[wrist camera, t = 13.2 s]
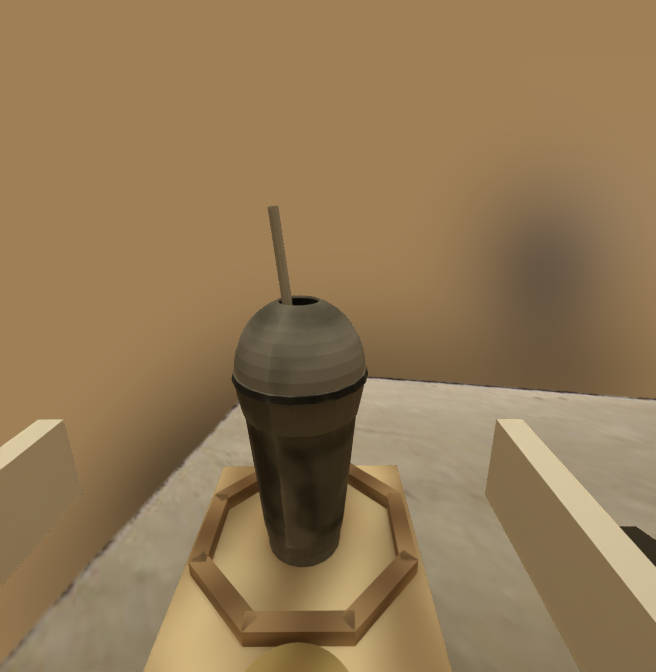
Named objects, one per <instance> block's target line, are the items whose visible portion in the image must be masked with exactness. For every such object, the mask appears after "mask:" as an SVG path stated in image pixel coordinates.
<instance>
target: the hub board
mask: <svg viewBox="0 0 656 672" xmlns="http://www.w3.org/2000/svg"><path fill="white" fill-rule="evenodd" d="M143 672H452V669H451V666H450V662H449V658H448V655H447V651H446V647H445V643H444V640H443V636H442V632H441V629H440V625H439V621H438V617H437V614H436V610H435V606H434V602H433V599H432V595H431V591H430V588H429V584H428V580H427V576H426V573H425V569H424V565H423V562H422V558H421V554H420V550H419V547H418V543H417V539H416V536H415V532H414V528H413V524H412V521H411V517H410V513H409V510H408V506H407V502H406V498H405V495H404V491H403V487H402V484H401V480H400V476H399V472H398V469H397V465H394V466H354V465H353V464H351V463H350V468H349V477H348V485H347V493H346V502H345V510H344V518H343V523H342V527H341V531H340V540H339V545H338V547H337V549H336V550H335V552H334V554H333V555H332V556H331V557H329V558H328V559H327V560H326V561H324V562H322V563H320V564H317V565H315V566H310V567H296V566H291V565H288V564H286V563H284V562H282V561H280V560H279V559H278V558H277V557H276V556H275V554H274V553H273V552H272V549H271V546H270V543H269V536H268V532H267V529H266V526H265V522H264V517H263V511H262V506H261V500H260V495H259V489H258V484H257V478H256V473H255V467H254V466H243V467H224V469H223V472H222V474H221V477H220V479H219V482H218V484H217V487H216V489H215V492H214V494H213V497H212V499H211V502H210V504H209V507H208V510H207V512H206V515H205V517H204V520H203V522H202V525H201V527H200V530H199V532H198V535H197V537H196V540H195V542H194V545H193V547H192V550H191V552H190V555H189V557H188V560H187V563H186V565H185V568H184V570H183V573H182V575H181V578H180V580H179V583H178V585H177V588H176V590H175V593H174V595H173V598H172V600H171V603H170V605H169V608H168V611H167V613H166V616H165V618H164V621H163V623H162V626H161V628H160V631H159V633H158V636H157V638H156V641H155V643H154V646H153V648H152V651H151V653H150V656H149V659H148V661H147V664H146V666H145V669H144V671H143Z"/></svg>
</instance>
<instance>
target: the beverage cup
mask: <svg viewBox="0 0 656 672" xmlns="http://www.w3.org/2000/svg"><path fill="white" fill-rule="evenodd" d="M268 213H269V219H270V226H271V232H272V239H273V246H274V252H275V259H276V265H277V271H278V279H279V285H280V292H281V298H280V299H278V300H275V301H273V302H271V303H269V304H268V305H266V306H265V307H263V308H262V309H260V310H259V311H258V312H257V313H256V314H255V315H254V316H253V317H252V318H251V319H250V320H249V322H248V323H247V324H246V326H245V328H244V330H243V332H242V334H241V336H240V340H239V343H238V346H237V349H236V353H235V359H234V371H233V375H232V382H233V384H234V386H235V388H236V392H237V396H238V400H239V403H240V406H241V409H242V412H243V414H244V416H245V419H246V423H247V428H248V434H249V439H250V445H251V450H252V456H253V461H254V467H255V473H256V478H257V484H258V489H259V495H260V500H261V506H262V511H263V517H264V522H265V526H266V529H267V532H268V536H269V543H270V546H271V549H272V552H273V553H274V554H275V556H276V557H277V558H278V559H279V560H280V561H282V562H284V563H286V564H288V565H291V566H296V567H310V566H315V565H317V564H320V563H322V562H324V561H326V560H327V559H328V558H329V557H331V556H332V555H333V554H334V552H335V550H336V549H337V547H338V545H339V540H340V531H341V527H342V523H343V518H344V510H345V502H346V493H347V485H348V477H349V468H350V460H351V452H352V443H353V435H354V427H355V419H356V415H357V412H358V408H359V404H360V400H361V396H362V392H363V387H364V384H365V383H366V379H367V375H368V372H367V367H366V365H365V356H364V351H363V346H362V343H361V341H360V338H359V336H358V334H357V332H356V331H355V329H354V327H353V325H352V323H351V322H350V321H349V319H348V318H347V317H346V316H345V314H344V313H342V312H341V311H340V310H339V309H338V308H336V307H335V306H333V305H331V304H330V303H328V302H326V301H324V300H322V299H319V298H316V297H311V296H291V291H290V285H289V277H288V270H287V264H286V258H285V250H284V243H283V236H282V229H281V222H280V215H279V208H278V206H270V207H268Z"/></svg>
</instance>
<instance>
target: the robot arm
mask: <svg viewBox="0 0 656 672" xmlns="http://www.w3.org/2000/svg"><path fill="white" fill-rule="evenodd" d="M81 495H82V490H81V487H80V483H79V479H78V475H77V471H76V467H75V463H74V459H73V455H72V451H71V448H70V443H69V440H68V436H67V432H66V428H65V424H64V420H37V421H36V422H35V423H33V424H32V425H30V426H29V427H28V428H26V429H25V430H24V431H22V432H21V433H19V434H18V435H17V436H16V437H14V438H13V439H11V440H10V441H8V442H7V443H6V444H4V445H3V446H2V447H0V588H1V587H2V586H3V585H4V584H5V582H6V581H7V580H8V579H9V578H10V577H11V575H12V574H13V573H14V572H15V571H16V570H17V569H18V567H19V566H20V565H21V564H22V563H23V562H24V560H25V559H26V558H27V557H28V556H29V554H31V552H32V551H33V550H34V549H35V547H37V545H38V544H39V543H40V542H41V541H42V540H43V539H44V537H45V536H46V535H47V534H48V533H49V532H50V531H51V529H52V528H53V527H54V526H55V525H56V523H57V522H58V521H59V520H60V519H61V518H62V517H63V515H64V514H65V513H66V512H67V511H68V510H69V509H70V507H71V506H72V505H73V504H74V503H75V502H76V500H77V499H78V498H79V497H80V496H81ZM485 495H486V497H487V499H488V500H489V502H490V504H491V506H492V508H493V510H494V512H495V513H496V515H497V517H498V519H499V521H500V523H501V525H502V526H503V528H504V530H505V532H506V534H507V536H508V538H509V539H510V541H511V543H512V545H513V547H514V549H515V550H516V552H517V554H518V556H519V558H520V560H521V562H522V563H523V565H524V567H525V569H526V571H527V573H528V575H529V576H530V578H531V580H532V582H533V584H534V586H535V588H536V589H537V591H538V593H539V595H540V597H541V599H542V601H543V602H544V604H545V606H546V608H547V610H548V612H549V614H550V615H551V617H552V619H553V621H554V623H555V625H556V626H557V628H558V630H559V632H560V634H561V636H562V638H563V639H564V641H565V643H566V645H567V647H568V649H569V651H570V652H571V654H572V656H573V658H574V660H575V662H576V664H577V665H578V667H579V669H580V671H581V672H656V540H655V539H653V538H652V537H650V536H649V535H647V534H646V533H644V532H643V531H642V530H640V529H639V528H637V527H619V526H618V525H617V524H616V523H615V522H614V520H613V519H612V518H611V517H610V516H609V515H608V514H607V513H606V512H605V510H604V509H603V508H602V507H601V506H600V505H599V504H598V503H597V502H596V501H595V499H594V498H593V497H592V496H591V495H590V494H589V493H588V492H587V491H586V489H585V488H584V487H583V486H582V485H581V484H580V483H579V482H578V481H577V480H576V478H575V477H574V476H573V475H572V474H571V473H570V472H569V471H568V470H567V468H566V467H565V466H564V465H563V464H562V463H561V462H560V461H559V460H558V459H557V457H556V456H555V455H554V454H553V453H552V452H551V451H550V450H549V449H548V447H547V446H546V445H545V444H544V443H543V442H542V441H541V440H540V439H539V438H538V436H537V435H536V434H535V433H534V432H533V431H532V430H531V429H530V428H529V426H528V425H527V424H526V423H525V422H524V421H523V420H522V419H497V420H496V426H495V433H494V439H493V446H492V452H491V459H490V465H489V472H488V478H487V485H486V491H485Z"/></svg>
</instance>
